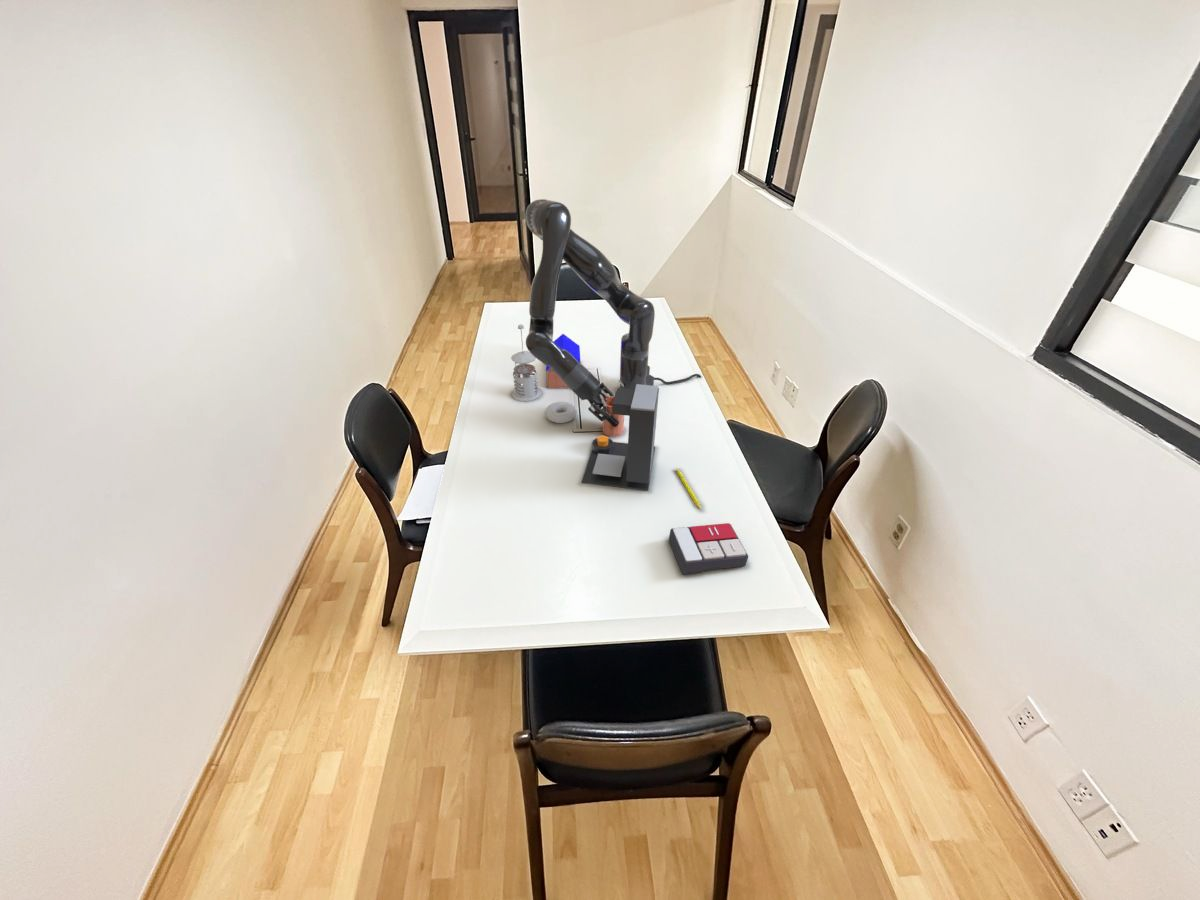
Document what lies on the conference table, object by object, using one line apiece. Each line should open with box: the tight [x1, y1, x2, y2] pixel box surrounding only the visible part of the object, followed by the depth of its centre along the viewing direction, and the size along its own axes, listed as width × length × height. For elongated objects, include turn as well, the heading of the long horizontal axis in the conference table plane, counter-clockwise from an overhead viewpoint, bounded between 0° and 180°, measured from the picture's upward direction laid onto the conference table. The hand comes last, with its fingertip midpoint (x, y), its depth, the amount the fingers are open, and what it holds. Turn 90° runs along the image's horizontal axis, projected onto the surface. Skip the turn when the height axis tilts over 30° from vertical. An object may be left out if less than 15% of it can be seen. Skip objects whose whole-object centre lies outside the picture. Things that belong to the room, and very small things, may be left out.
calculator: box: [668, 522, 749, 575], centre depth 120 cm, size 11×4×15 cm
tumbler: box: [602, 395, 625, 438], centre depth 158 cm, size 6×6×10 cm
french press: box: [510, 324, 542, 402], centre depth 173 cm, size 10×12×25 cm
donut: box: [544, 401, 577, 424], centre depth 167 cm, size 10×4×10 cm
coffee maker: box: [592, 384, 660, 485], centre depth 136 cm, size 15×12×23 cm
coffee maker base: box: [581, 437, 656, 492], centre depth 147 cm, size 18×20×3 cm
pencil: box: [675, 468, 702, 510], centre depth 139 cm, size 16×1×1 cm, turn 14°
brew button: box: [596, 434, 609, 447], centre depth 151 cm, size 3×3×2 cm
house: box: [545, 333, 582, 389], centre depth 188 cm, size 12×20×12 cm, turn 3°
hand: (618, 418), depth 159 cm, fingers closed on tumbler, 6 cm apart
